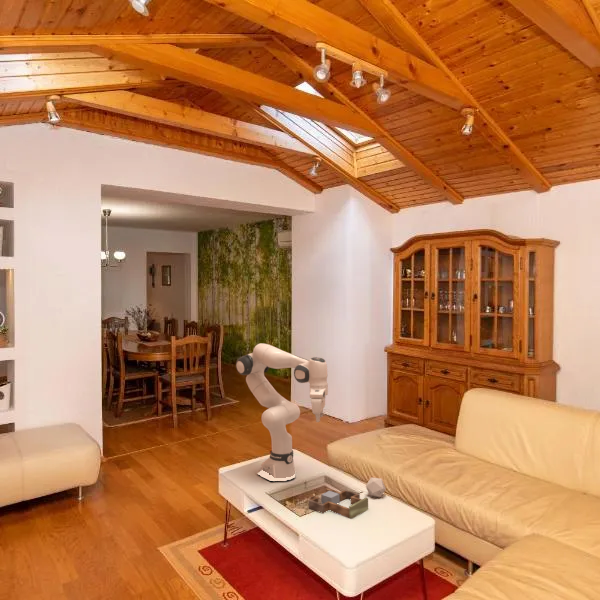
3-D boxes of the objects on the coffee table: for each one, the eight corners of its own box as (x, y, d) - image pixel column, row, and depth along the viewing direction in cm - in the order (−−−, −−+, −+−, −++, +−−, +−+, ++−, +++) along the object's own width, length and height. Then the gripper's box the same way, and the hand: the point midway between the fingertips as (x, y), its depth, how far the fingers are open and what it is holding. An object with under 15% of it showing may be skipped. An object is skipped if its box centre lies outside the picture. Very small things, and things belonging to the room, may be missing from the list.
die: (374, 502, 226) (386, 484, 226) (360, 489, 231) (372, 472, 231) (379, 502, 233) (391, 485, 234) (365, 489, 238) (376, 473, 238)
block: (321, 504, 224) (321, 494, 224) (329, 500, 229) (329, 490, 229) (331, 507, 220) (331, 497, 220) (339, 503, 225) (339, 493, 225)
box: (304, 506, 222) (304, 495, 222) (333, 492, 237) (332, 482, 237) (345, 522, 205) (345, 510, 205) (373, 506, 220) (373, 495, 220)
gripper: (315, 387, 246) (316, 414, 246) (309, 394, 226) (309, 424, 226) (327, 387, 245) (328, 414, 245) (322, 395, 225) (323, 424, 225)
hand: (319, 419), depth 235 cm, fingers open, 8 cm apart
